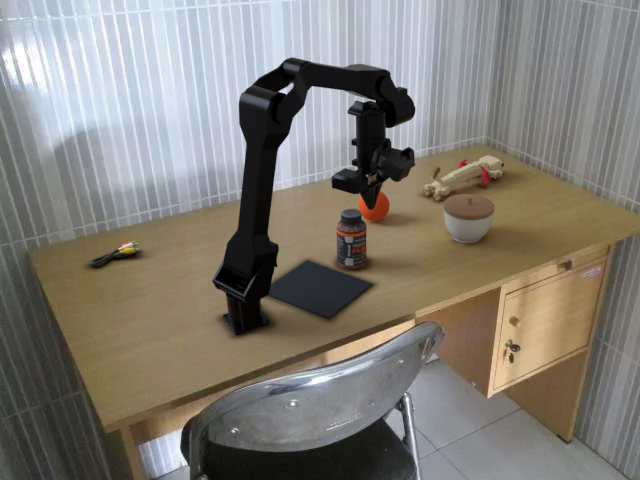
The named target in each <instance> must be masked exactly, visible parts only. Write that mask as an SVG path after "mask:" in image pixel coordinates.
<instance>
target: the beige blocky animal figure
mask: <svg viewBox="0 0 640 480" xmlns="http://www.w3.org/2000/svg"><path fill="white" fill-rule="evenodd" d="M467 161H469V159H468V158H465V159H462V161H460V162H459V166H458V167H457V169H455V170H453V171H451V172H449V173H447V175H445V176H442V177H440V176H438V175H439V174H440V172H441V167H440V166H438V165H436V166H433V168H432V171H431V173H430V179H431V180H432V181H433V182H431V183H430V184H429V183H427V184H424V188H423V189H422V192H423V193H424V196H425V197H430V196H431V195H432V194H433V195H432V196H433V198H434V201H436V202H439V201H441V200H443V196H448V195H449V194H450V190H451V189H454V188H456V187H457V186H459V184H462V183H464V182H466V181H468V180H470V179H475V178H476V177H478V176H481V177H482V181H481V184H479V187H484V186H486V185H487V184H488V183H489V182H490V181H491V180H492V178H494V180H496V179H497V178H499V177H502V176H503V171H502V169H503V168H504V167H505V163H504V161H502V160H501V159H500V158H497V157H495V156H492V155H484V156H483V157H480V158H478V160H475V161H473V162H472V163H469V164H468V163H467ZM433 191H434V193H433Z"/></svg>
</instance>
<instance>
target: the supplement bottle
mask: <svg viewBox="0 0 640 480" xmlns="http://www.w3.org/2000/svg"><path fill="white" fill-rule="evenodd" d="M362 217H363V216H362V214H361V211H360V210H359V209H357V208H346V209H345V208H344V209H343V210H342V211H341V212H340V220H338V221H337V223H336V226H335V227H336V229H335V230H336V231H335V233H336V261H337V264H338V266H340V267H341V268H343V269H347V270H358V269H360V268H362V267H364V266H365V265H366V263H367V223H366V222H365V221H364V220H363V218H362Z"/></svg>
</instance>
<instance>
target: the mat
mask: <svg viewBox="0 0 640 480" xmlns="http://www.w3.org/2000/svg"><path fill="white" fill-rule="evenodd" d="M371 286H373V283H372V282H369V281H367V280H364V279H361V278H359V277H356V276H353V275H351V274H347V273H344V272H341V271H338V270H335V269H333V268H331V267H327V266H325V265H321V264H319V263H317V262H313V261H310V260H305V261H303V262H302V263H301V264H299V265H297V266H296V267H294V268H293V269H292V270H290V271H289V272H287V273H285V274H284V275H283V276H281V277H280V278H278V279H276V280H275V281H274V282H271V287H270V292H269V295H267V296H268V297H271V298H273V299H276V300H279V301H282V302H284V303H286V304H289V305H291V306H294V307H296V308H299V309H301V310H304V311H306V312H308V313H311V314H314V315H317V316H320V317H322V318H324V319H327V320H330V319H331V318H332V317H333V316H335V315H336V314H337V313H339V312H340V311H341V310H342V309H344V308H345V307H347V305H349V304H350V303H351V302H353V301H354V300H355V299H356V298H358V297H359V296H360V295H362V294H363V293H364V292H365V291H366V290H368V289H369V288H370V287H371Z"/></svg>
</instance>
